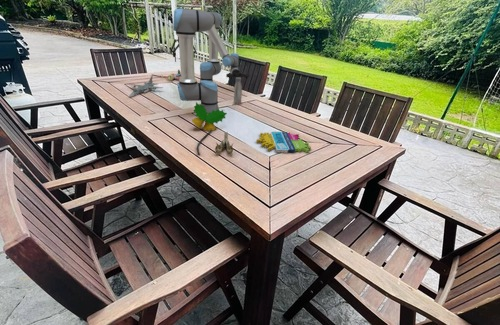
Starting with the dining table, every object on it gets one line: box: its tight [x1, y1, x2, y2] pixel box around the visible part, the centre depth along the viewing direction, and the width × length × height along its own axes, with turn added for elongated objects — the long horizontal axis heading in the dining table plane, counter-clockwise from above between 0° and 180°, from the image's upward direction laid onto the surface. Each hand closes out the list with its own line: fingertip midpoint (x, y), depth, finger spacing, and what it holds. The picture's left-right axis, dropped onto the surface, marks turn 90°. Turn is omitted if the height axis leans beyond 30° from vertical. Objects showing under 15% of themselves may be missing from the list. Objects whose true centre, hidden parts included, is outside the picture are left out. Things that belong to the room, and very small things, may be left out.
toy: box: [160, 69, 181, 82], centre depth 280 cm, size 28×7×30 cm
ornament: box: [191, 101, 228, 132], centre depth 162 cm, size 21×8×15 cm, turn 105°
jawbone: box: [214, 131, 234, 156], centre depth 136 cm, size 9×15×10 cm
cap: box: [235, 77, 242, 83], centre depth 205 cm, size 4×4×2 cm
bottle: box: [233, 80, 243, 106], centre depth 210 cm, size 6×6×20 cm
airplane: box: [127, 74, 164, 98], centre depth 226 cm, size 38×31×10 cm
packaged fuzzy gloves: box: [256, 131, 312, 154], centre depth 152 cm, size 26×2×30 cm
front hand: (184, 61), depth 211 cm, fingers open, 13 cm apart
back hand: (239, 77), depth 222 cm, fingers open, 13 cm apart
